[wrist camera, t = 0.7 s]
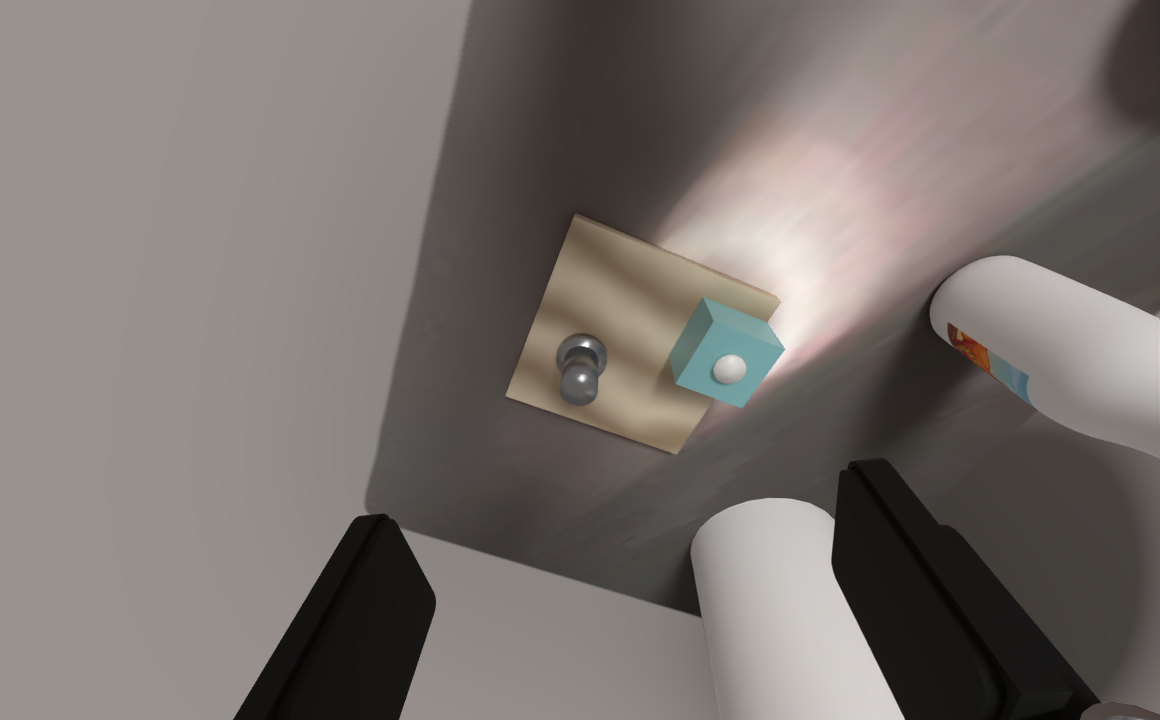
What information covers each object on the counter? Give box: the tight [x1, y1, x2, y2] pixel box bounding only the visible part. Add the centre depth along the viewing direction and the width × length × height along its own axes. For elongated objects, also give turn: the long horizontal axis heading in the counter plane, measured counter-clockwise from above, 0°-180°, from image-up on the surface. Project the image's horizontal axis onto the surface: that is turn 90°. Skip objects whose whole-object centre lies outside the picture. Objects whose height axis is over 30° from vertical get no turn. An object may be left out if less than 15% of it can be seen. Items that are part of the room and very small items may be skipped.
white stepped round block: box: [690, 498, 905, 720], centre depth 43 cm, size 17×17×28 cm
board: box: [506, 213, 781, 455], centre depth 41 cm, size 18×18×1 cm
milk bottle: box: [930, 256, 1160, 458], centre depth 29 cm, size 8×8×20 cm
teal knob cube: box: [669, 297, 785, 408], centre depth 37 cm, size 6×6×5 cm
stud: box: [556, 333, 607, 406], centre depth 39 cm, size 4×4×6 cm
